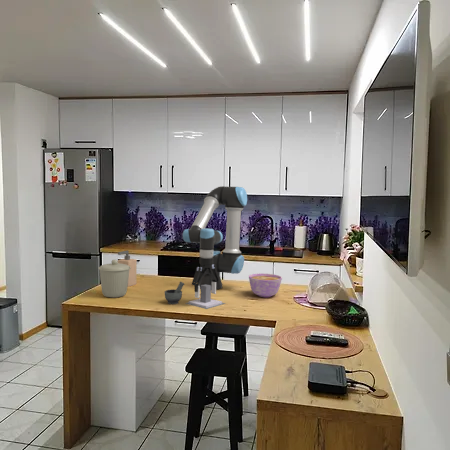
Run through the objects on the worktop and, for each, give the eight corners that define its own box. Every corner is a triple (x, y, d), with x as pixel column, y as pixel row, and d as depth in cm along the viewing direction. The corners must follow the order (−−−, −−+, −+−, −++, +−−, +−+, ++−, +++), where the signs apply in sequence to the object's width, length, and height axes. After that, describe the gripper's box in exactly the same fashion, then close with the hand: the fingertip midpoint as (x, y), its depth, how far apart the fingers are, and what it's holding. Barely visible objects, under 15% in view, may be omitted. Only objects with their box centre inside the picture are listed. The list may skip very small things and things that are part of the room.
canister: (92, 295, 259) (92, 259, 257) (118, 290, 272) (119, 256, 270) (109, 301, 246) (109, 263, 245) (136, 296, 260) (137, 260, 258)
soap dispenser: (125, 282, 294) (126, 249, 292) (136, 284, 290) (136, 250, 288) (113, 286, 282) (113, 251, 280) (124, 288, 278) (124, 253, 277)
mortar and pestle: (167, 306, 239) (167, 284, 237) (161, 302, 247) (162, 281, 246) (187, 305, 243) (187, 283, 242) (180, 300, 252) (181, 279, 251)
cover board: (204, 299, 255) (204, 281, 254) (222, 303, 246) (222, 285, 246) (188, 303, 245) (189, 285, 244) (206, 307, 236) (206, 289, 236)
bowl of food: (287, 296, 269) (288, 277, 268) (267, 301, 255) (268, 281, 254) (261, 290, 283) (262, 272, 282) (241, 295, 268) (241, 276, 267)
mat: (204, 299, 257) (204, 298, 257) (225, 304, 247) (225, 303, 247) (184, 304, 244) (184, 303, 244) (206, 310, 234) (206, 309, 234)
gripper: (196, 260, 231) (194, 300, 233) (226, 255, 251) (225, 292, 252) (185, 258, 236) (184, 298, 238) (216, 254, 255) (215, 290, 257)
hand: (205, 295), depth 245 cm, fingers open, 13 cm apart
